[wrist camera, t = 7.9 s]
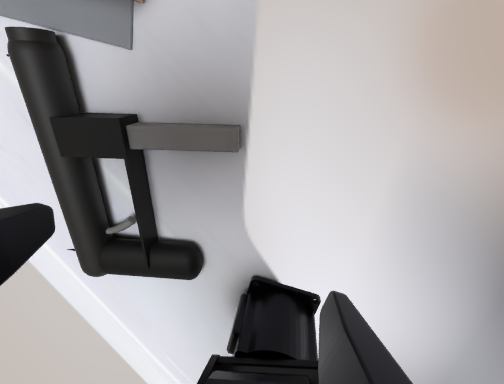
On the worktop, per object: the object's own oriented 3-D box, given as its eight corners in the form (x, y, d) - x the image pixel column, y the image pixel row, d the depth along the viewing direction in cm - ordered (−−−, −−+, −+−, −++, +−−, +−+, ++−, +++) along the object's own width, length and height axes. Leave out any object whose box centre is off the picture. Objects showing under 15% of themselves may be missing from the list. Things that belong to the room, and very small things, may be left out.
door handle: (233, 21, 14) (-32, 25, 15) (239, 295, 22) (66, 281, 23) (241, 32, 17) (20, 34, 18) (243, 269, 25) (90, 258, 26)
